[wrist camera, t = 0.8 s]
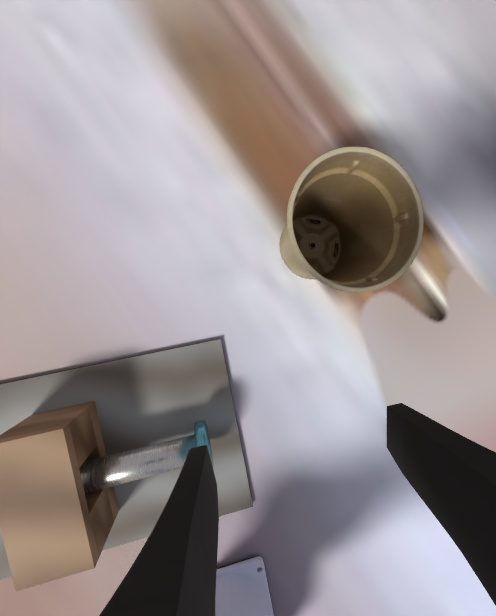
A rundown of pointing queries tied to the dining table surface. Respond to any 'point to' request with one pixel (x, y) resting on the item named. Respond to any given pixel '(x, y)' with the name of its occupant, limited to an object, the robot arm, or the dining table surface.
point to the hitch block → (103, 442)
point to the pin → (142, 461)
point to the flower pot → (353, 221)
